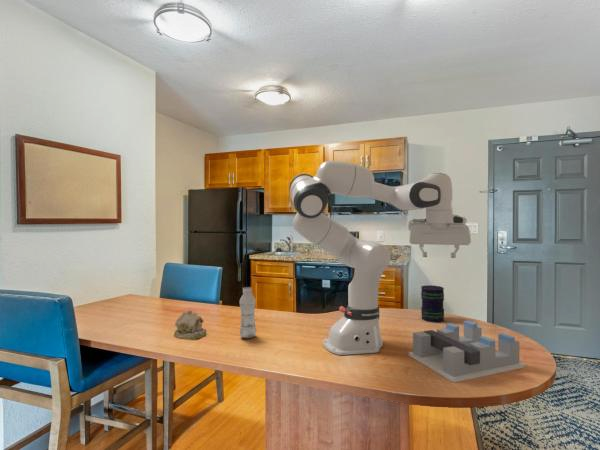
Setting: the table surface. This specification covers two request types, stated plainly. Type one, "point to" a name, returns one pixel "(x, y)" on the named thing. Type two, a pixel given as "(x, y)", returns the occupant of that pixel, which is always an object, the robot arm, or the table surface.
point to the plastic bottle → (247, 313)
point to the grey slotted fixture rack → (453, 358)
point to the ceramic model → (189, 326)
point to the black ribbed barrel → (432, 303)
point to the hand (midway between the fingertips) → (438, 257)
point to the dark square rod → (443, 341)
